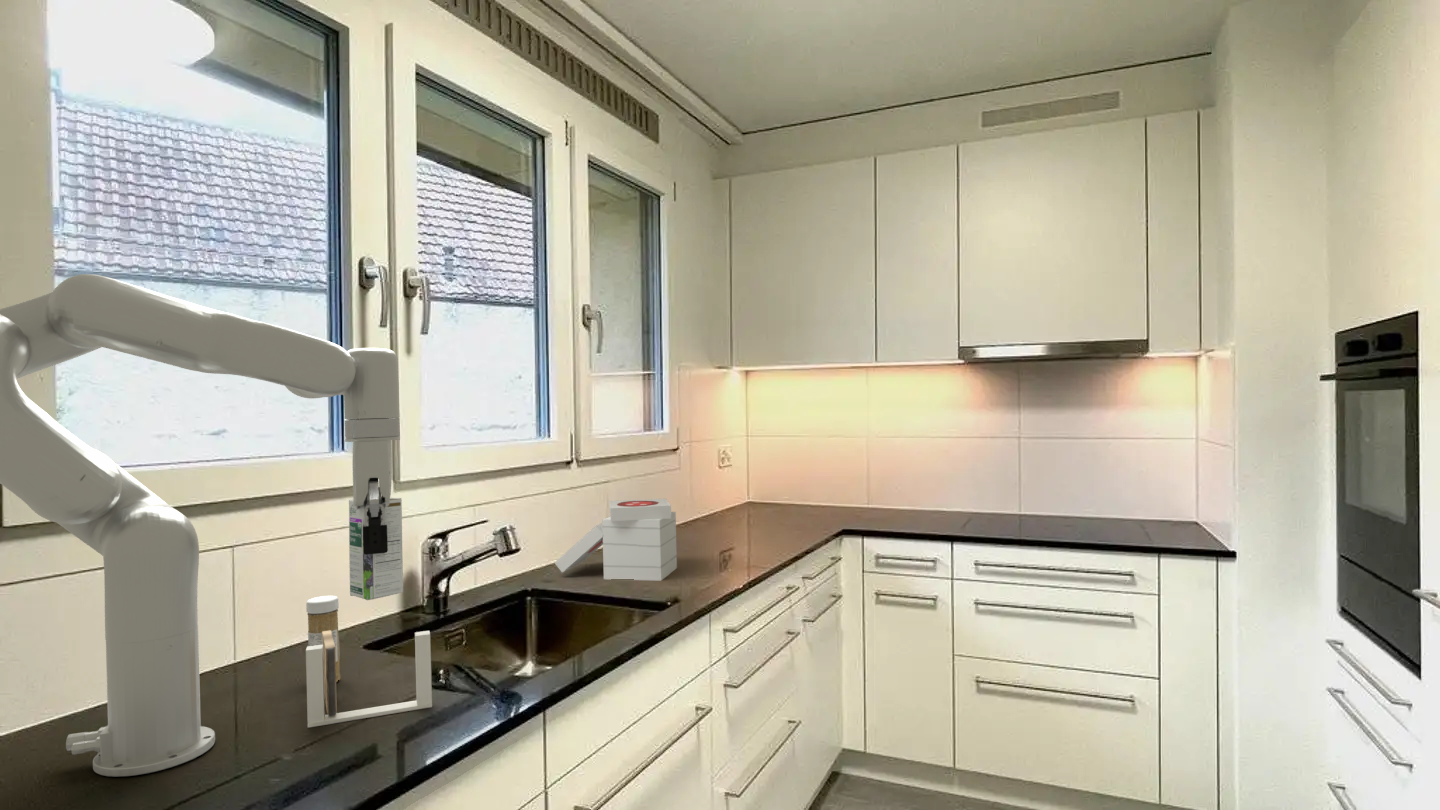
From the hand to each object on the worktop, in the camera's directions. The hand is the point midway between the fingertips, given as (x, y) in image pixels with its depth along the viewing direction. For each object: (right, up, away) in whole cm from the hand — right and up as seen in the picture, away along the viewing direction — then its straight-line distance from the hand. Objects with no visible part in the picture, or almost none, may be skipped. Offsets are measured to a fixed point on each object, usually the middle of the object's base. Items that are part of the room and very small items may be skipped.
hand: (375, 548), depth 117 cm
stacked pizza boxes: (+26, -22, +84) cm, 91 cm away
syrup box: (0, -7, 0) cm, 7 cm away
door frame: (+2, -22, -6) cm, 23 cm away
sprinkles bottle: (-12, -23, +8) cm, 27 cm away
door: (-5, -22, -3) cm, 23 cm away
